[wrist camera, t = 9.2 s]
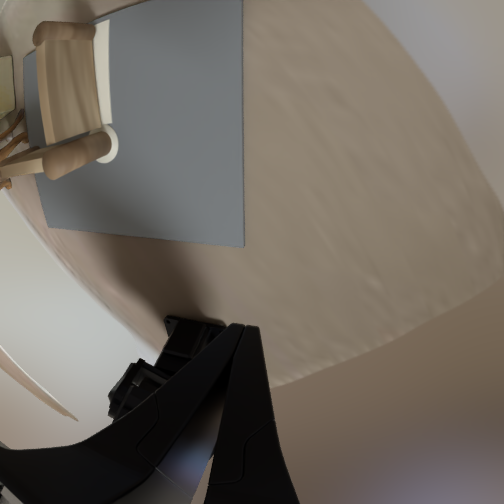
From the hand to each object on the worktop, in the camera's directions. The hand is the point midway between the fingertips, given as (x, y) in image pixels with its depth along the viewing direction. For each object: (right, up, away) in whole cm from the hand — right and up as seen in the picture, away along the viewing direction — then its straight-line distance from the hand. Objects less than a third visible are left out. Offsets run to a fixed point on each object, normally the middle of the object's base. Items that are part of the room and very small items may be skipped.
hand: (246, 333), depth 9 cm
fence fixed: (-16, +11, +11) cm, 22 cm away
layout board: (-11, +12, +10) cm, 19 cm away
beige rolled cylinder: (-12, +15, +7) cm, 21 cm away
